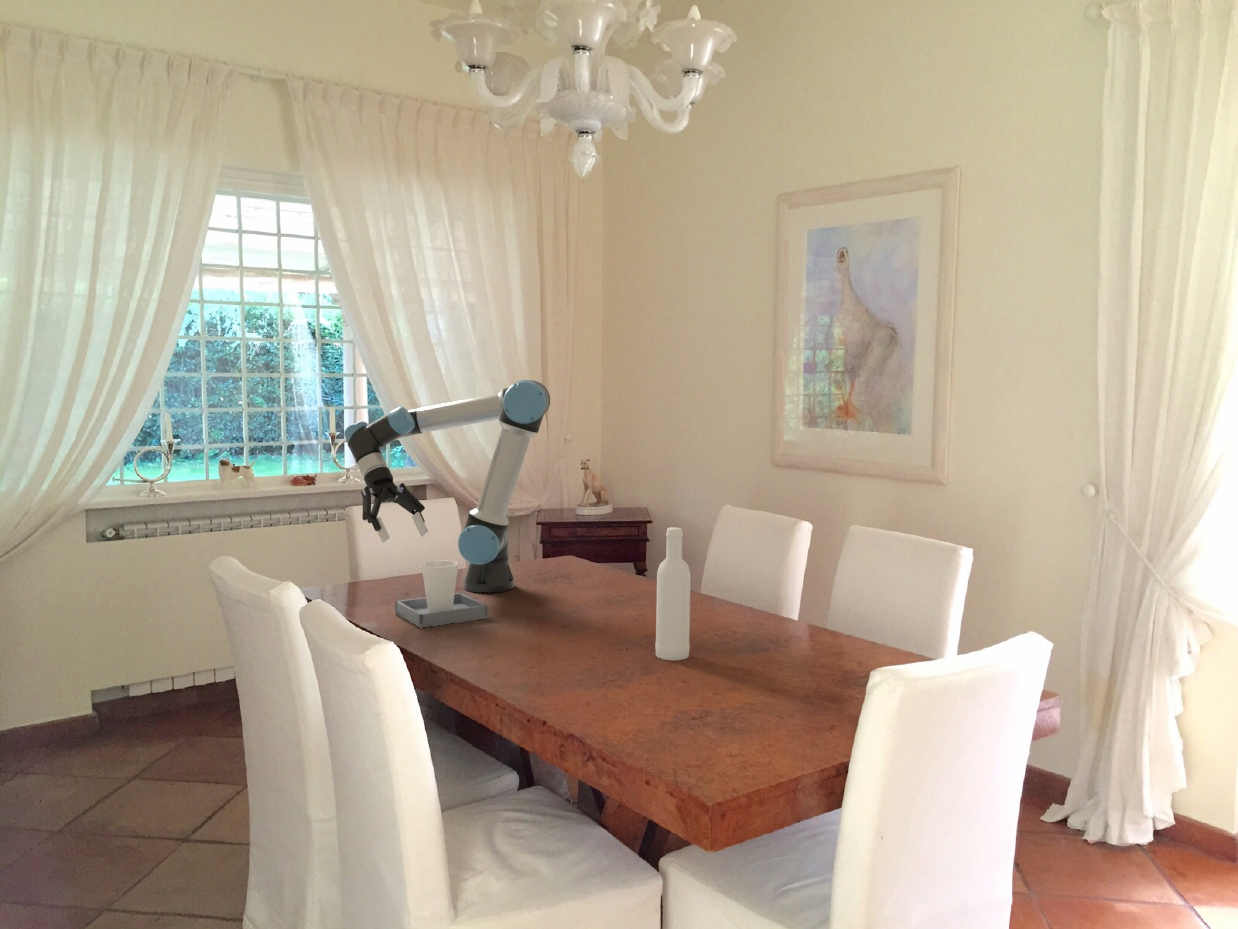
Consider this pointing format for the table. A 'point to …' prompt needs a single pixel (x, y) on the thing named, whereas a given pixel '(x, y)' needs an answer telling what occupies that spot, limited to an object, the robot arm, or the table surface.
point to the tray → (461, 611)
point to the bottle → (673, 601)
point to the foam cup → (440, 584)
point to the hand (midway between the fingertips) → (405, 537)
